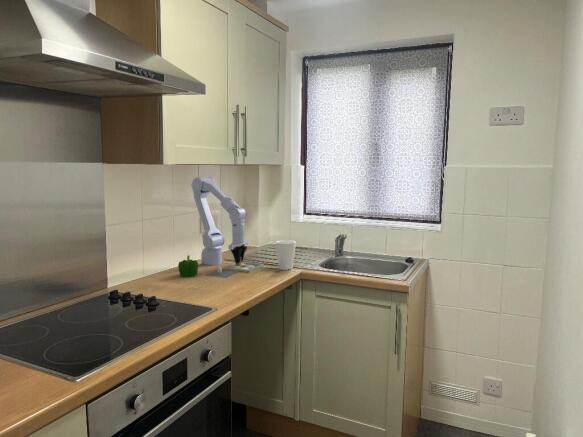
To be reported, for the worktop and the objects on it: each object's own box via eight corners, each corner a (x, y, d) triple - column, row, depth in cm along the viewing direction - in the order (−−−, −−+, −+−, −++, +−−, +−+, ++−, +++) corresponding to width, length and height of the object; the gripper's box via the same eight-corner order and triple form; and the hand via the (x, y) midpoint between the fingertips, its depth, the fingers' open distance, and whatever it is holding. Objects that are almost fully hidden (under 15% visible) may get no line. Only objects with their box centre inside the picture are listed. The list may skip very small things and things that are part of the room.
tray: (223, 272, 206) (223, 267, 206) (239, 266, 219) (239, 261, 218) (249, 275, 201) (249, 270, 200) (263, 269, 213) (263, 263, 213)
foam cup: (287, 271, 207) (287, 244, 206) (272, 269, 213) (271, 242, 211) (299, 268, 215) (299, 241, 213) (284, 265, 220) (284, 239, 219)
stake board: (204, 278, 196) (204, 268, 195) (218, 273, 206) (218, 263, 205) (226, 281, 191) (225, 271, 191) (239, 275, 201) (239, 265, 200)
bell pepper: (193, 281, 191) (193, 258, 190) (176, 280, 193) (175, 257, 192) (201, 276, 199) (201, 254, 198) (184, 275, 201) (183, 254, 200)
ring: (246, 272, 205) (246, 261, 204) (231, 269, 208) (231, 258, 207) (254, 268, 212) (255, 257, 211) (240, 265, 215) (240, 254, 214)
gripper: (237, 236, 201) (238, 266, 202) (253, 231, 214) (253, 259, 215) (224, 235, 203) (225, 264, 205) (240, 231, 217) (241, 258, 218)
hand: (239, 262), depth 210 cm, fingers closed on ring
